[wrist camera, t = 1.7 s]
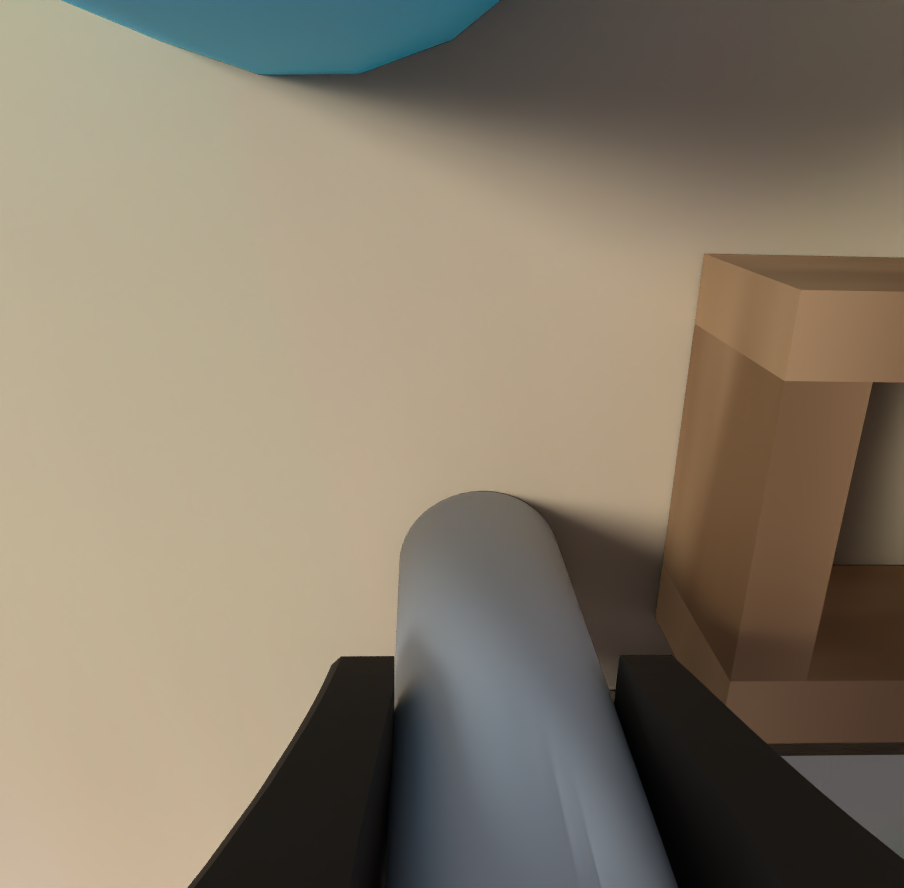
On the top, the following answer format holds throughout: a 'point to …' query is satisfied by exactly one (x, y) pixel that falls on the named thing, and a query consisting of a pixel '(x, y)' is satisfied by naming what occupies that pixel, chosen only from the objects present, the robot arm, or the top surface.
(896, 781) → the panel
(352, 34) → the mug
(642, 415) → the top surface
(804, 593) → the holder
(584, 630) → the dowel
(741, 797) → the robot arm
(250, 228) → the top surface
